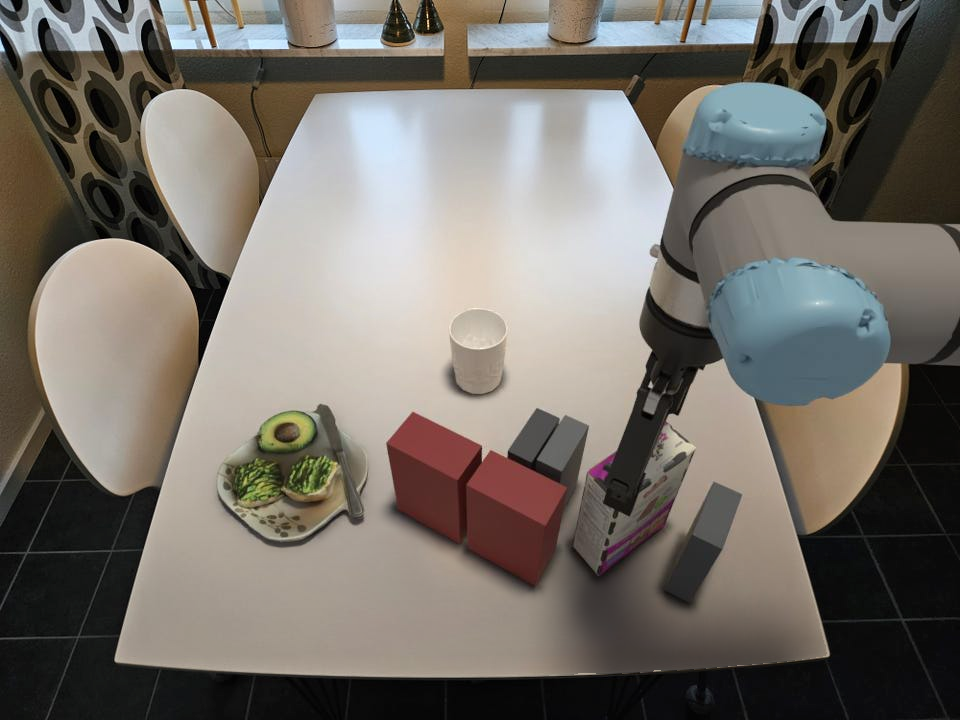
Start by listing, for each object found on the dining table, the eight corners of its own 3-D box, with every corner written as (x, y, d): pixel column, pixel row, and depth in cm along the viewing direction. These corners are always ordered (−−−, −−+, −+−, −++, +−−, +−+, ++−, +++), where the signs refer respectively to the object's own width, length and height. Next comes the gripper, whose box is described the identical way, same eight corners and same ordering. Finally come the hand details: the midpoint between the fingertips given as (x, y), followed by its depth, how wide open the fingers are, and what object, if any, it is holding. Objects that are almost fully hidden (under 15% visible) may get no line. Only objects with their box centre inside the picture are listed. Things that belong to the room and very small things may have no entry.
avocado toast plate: (411, 478, 82) (408, 458, 79) (298, 581, 73) (290, 563, 69) (313, 400, 90) (307, 379, 87) (201, 483, 81) (189, 463, 78)
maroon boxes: (535, 586, 73) (545, 526, 62) (397, 509, 79) (385, 443, 69) (555, 550, 75) (567, 487, 65) (420, 479, 82) (412, 411, 72)
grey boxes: (689, 603, 71) (722, 549, 62) (504, 506, 79) (507, 445, 70) (708, 552, 75) (742, 494, 66) (530, 464, 83) (537, 401, 74)
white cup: (514, 368, 95) (517, 319, 87) (489, 405, 90) (491, 357, 83) (467, 350, 97) (466, 300, 90) (441, 385, 92) (437, 336, 85)
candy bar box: (635, 496, 80) (663, 415, 68) (665, 525, 78) (700, 447, 66) (568, 545, 76) (585, 468, 64) (597, 578, 73) (621, 505, 61)
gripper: (700, 201, 57) (652, 360, 73) (583, 387, 43) (555, 536, 59) (787, 227, 55) (717, 387, 71) (693, 434, 40) (632, 577, 56)
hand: (643, 455), depth 65 cm, fingers open, 13 cm apart
